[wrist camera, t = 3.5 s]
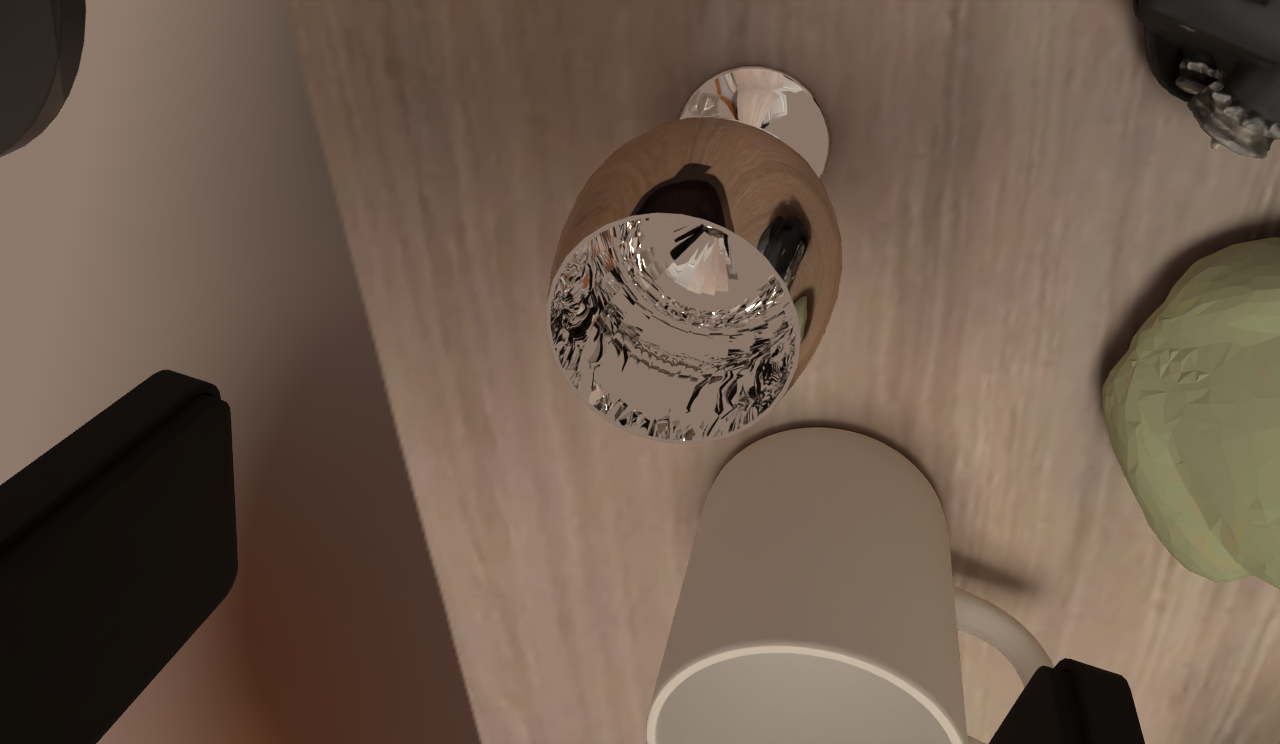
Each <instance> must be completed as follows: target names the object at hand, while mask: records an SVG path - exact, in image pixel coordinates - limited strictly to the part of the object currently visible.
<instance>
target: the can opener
mask: <svg viewBox="0 0 1280 744" xmlns="http://www.w3.org/2000/svg"><path fill="white" fill-rule="evenodd" d="M1133 6H1134V11H1135V14H1136V16H1137V17H1138V19H1139V21H1141V22H1143V23H1144V33H1145V46H1146V55H1147V59H1148V62H1149V65H1150V67H1151V70H1152V73H1153V75H1154V76H1155V78H1156V79H1157V81H1158V82H1159V84H1161V86H1162V87H1163V88H1165V89H1166V90H1167V91H1168V92H1169V93H1170V94H1172V95H1174V96H1176V97H1178V98H1180V99H1182V100H1183V101H1185V102H1188V108H1189V109H1190V110H1191V111H1192V113H1193V115H1194V117H1195V118H1196V120H1197V121H1198V123H1199V124H1200V127H1201V128H1202V129H1203V130H1204V131H1205V132H1206V133H1207V134H1208V135H1209V136H1211V137H1212V140H1211V148H1212V149H1214V150H1216V149H1218V148H1219V147H1220V146H1221V145H1224V146H1226V147H1227V148H1228V149H1230V150H1232V151H1234V152H1235V153H1237V154H1239V155H1244V156H1247V157H1254V158H1265V157H1266V156H1267V151H1269V150H1270V146H1271V144H1272V142H1273V140H1274V139H1276V140H1277V139H1280V0H1133Z"/></svg>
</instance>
